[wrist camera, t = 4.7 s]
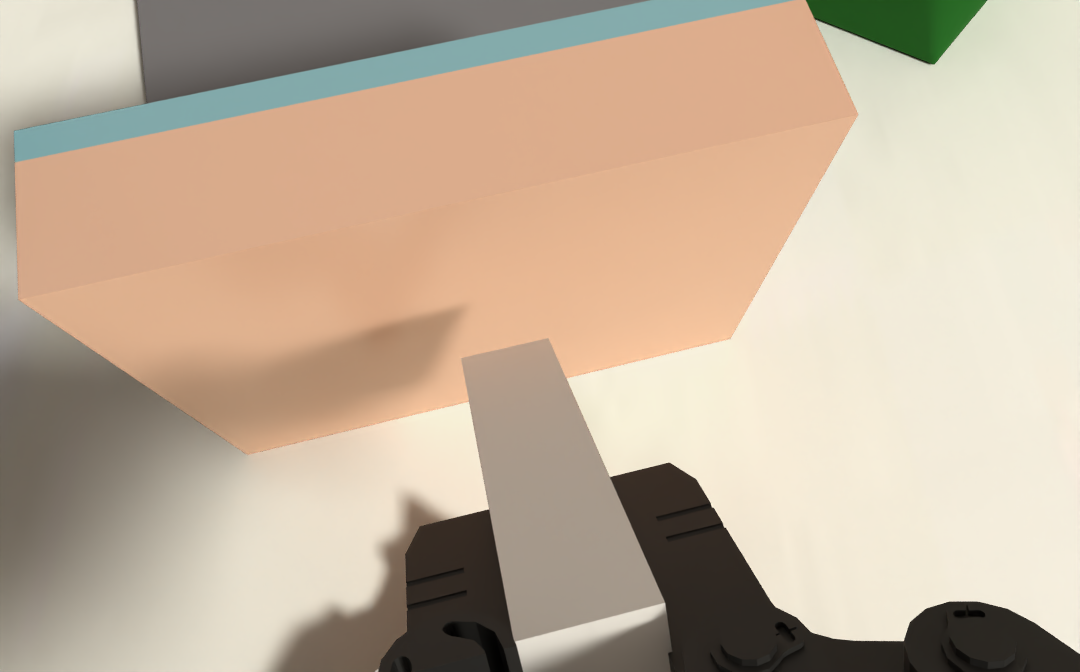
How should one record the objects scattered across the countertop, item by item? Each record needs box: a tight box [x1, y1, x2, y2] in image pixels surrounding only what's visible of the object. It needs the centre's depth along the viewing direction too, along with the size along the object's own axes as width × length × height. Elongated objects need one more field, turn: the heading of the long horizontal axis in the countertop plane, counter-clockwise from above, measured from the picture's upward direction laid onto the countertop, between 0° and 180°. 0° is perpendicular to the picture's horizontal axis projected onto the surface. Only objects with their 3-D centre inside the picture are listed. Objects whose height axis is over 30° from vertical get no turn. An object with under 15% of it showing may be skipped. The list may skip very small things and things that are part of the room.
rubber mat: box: [137, 0, 650, 104], centre depth 25 cm, size 12×16×1 cm
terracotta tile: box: [14, 0, 858, 455], centre depth 18 cm, size 3×13×10 cm, turn 104°
